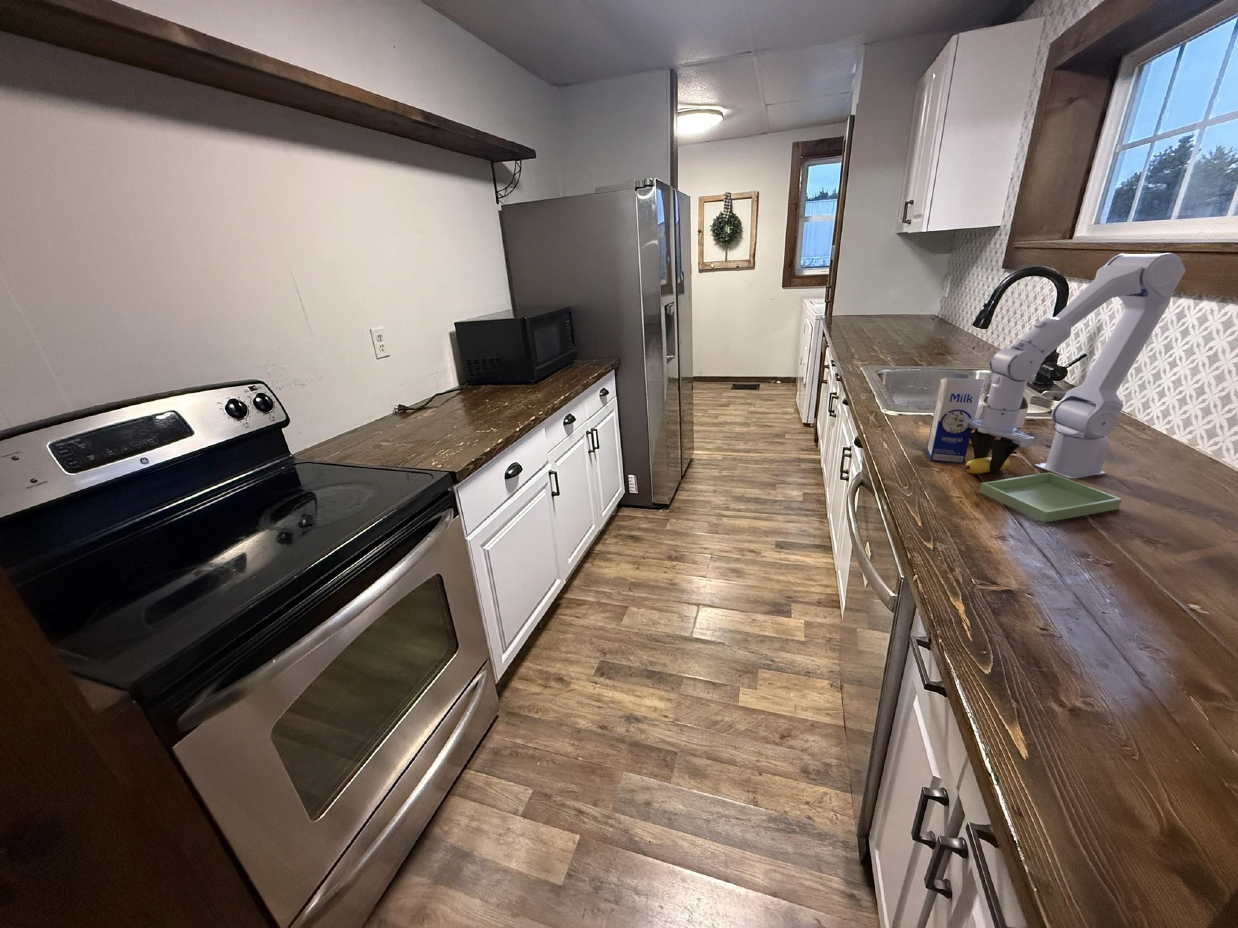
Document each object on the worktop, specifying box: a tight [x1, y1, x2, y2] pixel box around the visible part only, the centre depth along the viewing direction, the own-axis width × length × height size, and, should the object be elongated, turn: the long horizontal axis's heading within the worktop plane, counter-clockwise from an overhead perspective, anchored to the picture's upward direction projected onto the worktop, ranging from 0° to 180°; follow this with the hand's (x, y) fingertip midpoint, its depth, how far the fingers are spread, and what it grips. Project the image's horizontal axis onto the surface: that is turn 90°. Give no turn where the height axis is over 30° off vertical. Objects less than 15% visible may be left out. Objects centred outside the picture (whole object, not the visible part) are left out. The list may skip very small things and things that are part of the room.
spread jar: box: [975, 391, 1029, 431], centre depth 134 cm, size 12×11×12 cm
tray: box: [978, 471, 1123, 524], centre depth 96 cm, size 17×13×3 cm
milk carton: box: [925, 373, 985, 464], centre depth 115 cm, size 7×7×20 cm
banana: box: [964, 456, 1010, 475], centre depth 108 cm, size 11×3×3 cm, turn 103°
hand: (986, 467), depth 109 cm, fingers closed on banana, 3 cm apart
